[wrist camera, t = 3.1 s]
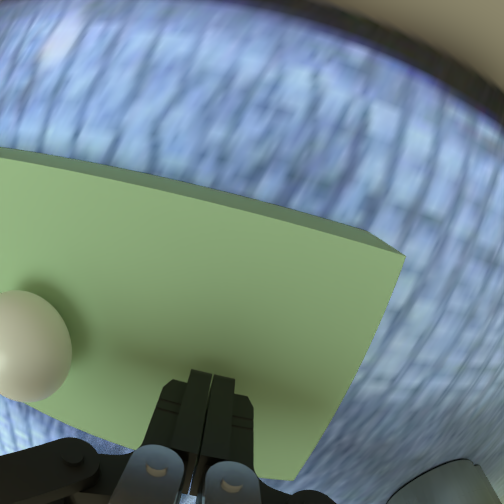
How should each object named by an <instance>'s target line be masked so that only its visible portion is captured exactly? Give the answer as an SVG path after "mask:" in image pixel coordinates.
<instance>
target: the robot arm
mask: <svg viewBox="0 0 504 504" xmlns="http://www.w3.org/2000/svg"><path fill="white" fill-rule="evenodd" d="M211 378H212V374H211V373H207V372H203V371H198V370H194V369H191V372H190V375H189V379H188V382H187V383H186V382H182V381H178V380H175V379H172V380H171V381H170V382H168V383H167V384H166V385H165V386H163V388H162V391H161V393H160V396H159V400H158V402H157V404H156V407H155V410H154V412H153V415H152V418H151V421H150V423H149V426H148V429H147V432H146V434H145V437H144V440H143V442H142V444H141V445H140V447H139V448H138V449H136V450H135V451H133V452H131V453H129V454H125V455H108V454H98V453H97V452H96V450H95V449H94V448H93V447H92V446H91V445H90V444H89V443H87V442H86V441H83V440H81V439H78V438H71V437H68V438H62V439H58V440H55V441H52V442H49V443H45V444H42V445H39V446H35V447H32V448H28V449H25V450H21V451H17V452H14V453H10V454H6V455H2V456H0V504H179V502H180V498H181V494H182V493H183V494H187V493H188V490H189V486H190V482H191V478H192V483H191V489H190V495H193V496H197V498H196V504H336V503H335V502H334V501H333V500H332V499H330V498H329V497H328V496H327V495H325V494H323V493H321V492H318V491H314V490H302V491H299V492H296V493H295V494H293V495H290V494H287V493H284V492H281V491H278V490H275V489H273V488H271V487H269V486H267V485H266V484H264V483H263V482H262V481H261V480H260V479H259V478H258V476H257V475H256V473H255V470H254V431H253V429H254V421H253V420H254V407H253V405H252V403H251V402H250V400H249V398H248V396H244V395H239V394H234V390H235V379H234V378H229V377H224V376H220V375H216V374H214V376H213V380H212V384H211ZM210 384H211V388H210ZM209 389H210V391H209ZM193 471H194V472H193ZM192 475H193V477H192ZM387 504H502V503H501V502H500V500H499V498H498V496H497V494H496V493H495V491H494V489H493V487H492V486H491V484H490V482H489V481H488V479H487V477H486V475H485V474H484V472H483V470H482V469H481V467H480V465H478V466H474V465H473V463H472V462H471V461H469V460H458V461H454V462H450V463H447V464H445V465H442V466H440V467H437V468H435V469H433V470H431V471H429V472H427V473H425V474H424V475H422V476H420V477H418V478H417V479H415V480H414V481H412V482H410V483H409V484H407V485H406V486H405V487H403V488H402V489H401V490H399V491H398V492H397V493H396V494H395V495H394V496H393V497H392V498H391V499H390V500H389V501H388V503H387Z"/></svg>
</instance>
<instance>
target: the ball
mask: <svg viewBox="0 0 504 504" xmlns="http://www.w3.org/2000/svg"><path fill="white" fill-rule="evenodd" d="M71 361H72V344H71V339H70V335H69V332H68V329H67V327H66V324H65V322H64V320H63V319H62V317H61V315H60V314H59V313H58V311H57V310H56V309H55V308H54V307H53V306H52V305H51V304H50V303H49V302H47V301H46V300H45V299H43V298H42V297H40V296H38V295H36V294H34V293H31V292H27V291H22V290H10V291H6V292H2V293H0V394H1V395H3V396H4V397H6V398H9V399H11V400H14V401H18V402H26V403H27V402H37V401H40V400H43V399H45V398H48V397H49V396H51V395H52V394H54V393H55V392H56V391H57V390H58V389H59V388H60V387H61V386H62V384H63V383H64V381H65V379H66V378H67V375H68V373H69V370H70V366H71Z"/></svg>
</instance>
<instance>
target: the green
mask: <svg viewBox="0 0 504 504" xmlns="http://www.w3.org/2000/svg"><path fill="white" fill-rule="evenodd" d="M405 257H406V256H405V255H403V254H402V253H400V252H399V251H397V250H396V249H394V248H393V247H391V246H390V245H388V244H387V243H385V242H383V241H382V240H380V239H379V238H377V237H376V236H374V235H372V234H371V233H369V232H368V231H365V230H361V229H358V228H355V227H351V226H348V225H345V224H341V223H338V222H334V221H331V220H328V219H324V218H321V217H317V216H314V215H310V214H307V213H303V212H299V211H296V210H292V209H289V208H285V207H281V206H278V205H274V204H270V203H266V202H262V201H259V200H255V199H251V198H247V197H243V196H239V195H235V194H231V193H227V192H223V191H219V190H215V189H211V188H207V187H203V186H199V185H194V184H190V183H186V182H181V181H177V180H173V179H168V178H164V177H159V176H155V175H150V174H146V173H141V172H136V171H132V170H127V169H122V168H117V167H112V166H107V165H102V164H97V163H92V162H86V161H81V160H76V159H70V158H65V157H59V156H53V155H48V154H42V153H36V152H29V151H23V150H17V149H10V148H3V147H0V293H2V292H6V291H10V290H22V291H27V292H31V293H34V294H36V295H38V296H40V297H42V298H43V299H45V300H46V301H47V302H49V303H50V304H51V305H52V306H53V307H54V308H55V309H56V310H57V311H58V313H59V314H60V315H61V317H62V319H63V320H64V322H65V324H66V327H67V329H68V332H69V335H70V339H71V344H72V361H71V366H70V370H69V373H68V375H67V378H66V379H65V381H64V383H63V384H62V386H61V387H60V388H59V389H58V390H57V391H56V392H55V393H54V394H52V395H51V396H49V397H48V398H45V399H43V400H40V401H37V402H27V403H26V402H23V403H25V404H27V405H29V406H31V407H33V408H35V409H37V410H39V411H40V412H42V413H45V414H47V415H49V416H51V417H53V418H55V419H57V420H59V421H61V422H64V423H66V424H68V425H70V426H73V427H75V428H77V429H80V430H82V431H84V432H87V433H89V434H92V435H94V436H97V437H99V438H102V439H105V440H107V441H110V442H113V443H116V444H119V445H121V446H124V447H127V448H130V449H133V450H136V449H138V448H139V447H140V445H141V444H142V442H143V440H144V437H145V434H146V432H147V429H148V426H149V423H150V421H151V418H152V415H153V412H154V410H155V407H156V404H157V402H158V400H159V396H160V393H161V391H162V388H163V386H165V385H166V384H167V383H168V382H170V381H171V380H172V379H175V380H178V381H182V382H186V383H187V382H188V379H189V375H190V372H191V369H194V370H198V371H203V372H207V373H211V374H212V378H211V384H212V380H213V376H214V374H216V375H220V376H224V377H229V378H234V379H235V390H234V394H239V395H244V396H248V398H249V400H250V402H251V403H252V405H253V407H254V420H253V421H254V429H253V431H254V470H255V473H256V475H257V476H258V477H260V478H268V479H277V480H289V481H293V480H294V479H295V477H296V476H297V474H298V473H299V471H300V470H301V468H302V467H303V465H304V464H305V462H306V461H307V459H308V458H309V456H310V454H311V453H312V451H313V450H314V448H315V446H316V445H317V443H318V442H319V440H320V438H321V437H322V435H323V433H324V432H325V430H326V428H327V426H328V425H329V423H330V421H331V420H332V418H333V416H334V414H335V412H336V411H337V409H338V407H339V405H340V403H341V402H342V400H343V398H344V396H345V394H346V392H347V390H348V389H349V387H350V385H351V383H352V381H353V379H354V377H355V375H356V373H357V371H358V369H359V367H360V365H361V363H362V361H363V359H364V357H365V354H366V352H367V350H368V348H369V346H370V344H371V342H372V339H373V337H374V335H375V333H376V330H377V328H378V326H379V324H380V321H381V319H382V317H383V314H384V312H385V310H386V307H387V305H388V302H389V300H390V297H391V295H392V292H393V290H394V287H395V285H396V282H397V279H398V277H399V274H400V271H401V269H402V266H403V263H404V260H405ZM211 384H210V388H211ZM209 391H210V389H209Z"/></svg>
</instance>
